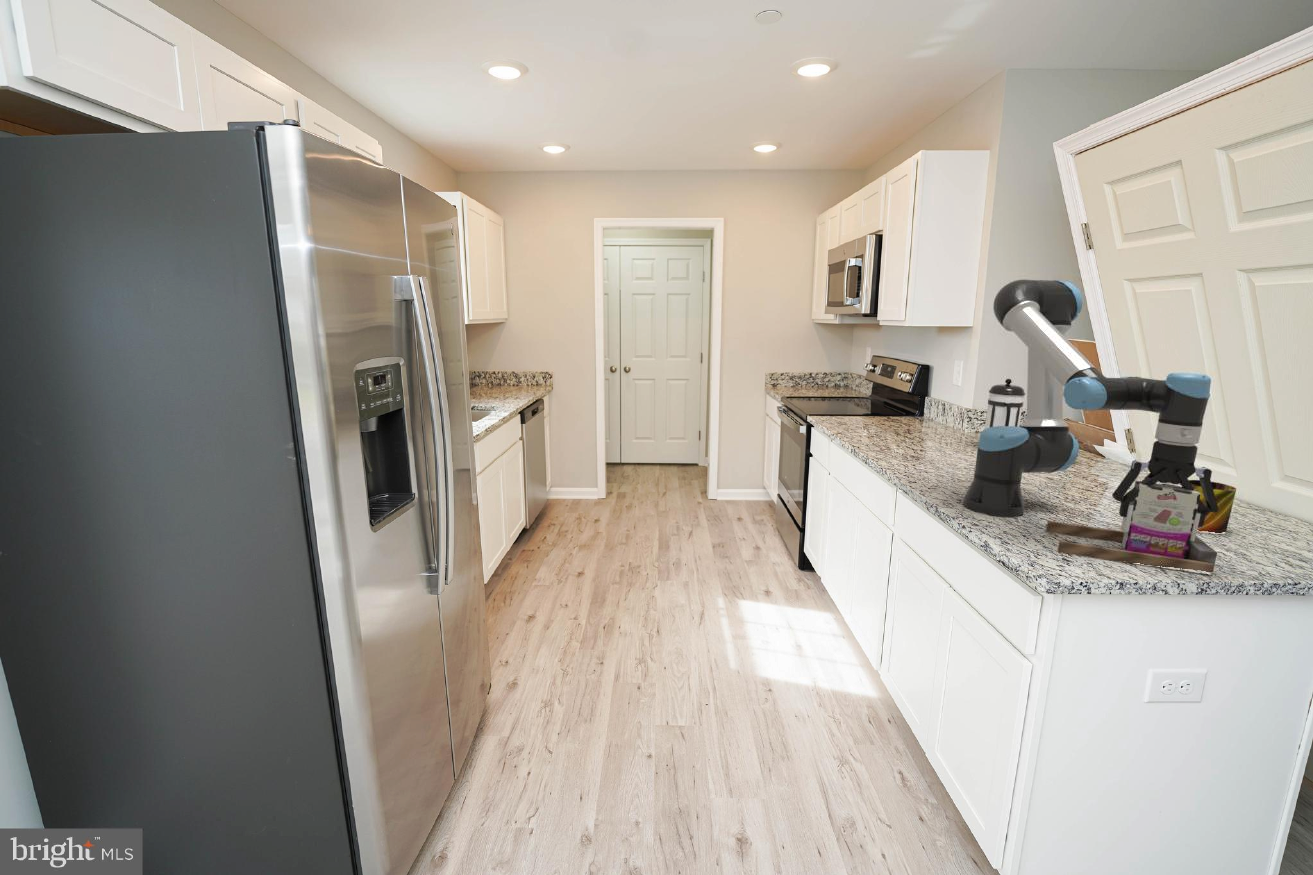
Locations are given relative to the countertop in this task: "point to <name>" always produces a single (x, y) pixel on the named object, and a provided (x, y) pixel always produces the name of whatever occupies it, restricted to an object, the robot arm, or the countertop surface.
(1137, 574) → the countertop surface
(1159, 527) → the candy bar box
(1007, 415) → the coffee press
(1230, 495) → the mug
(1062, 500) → the countertop surface
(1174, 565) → the guide channel
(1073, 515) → the countertop surface
